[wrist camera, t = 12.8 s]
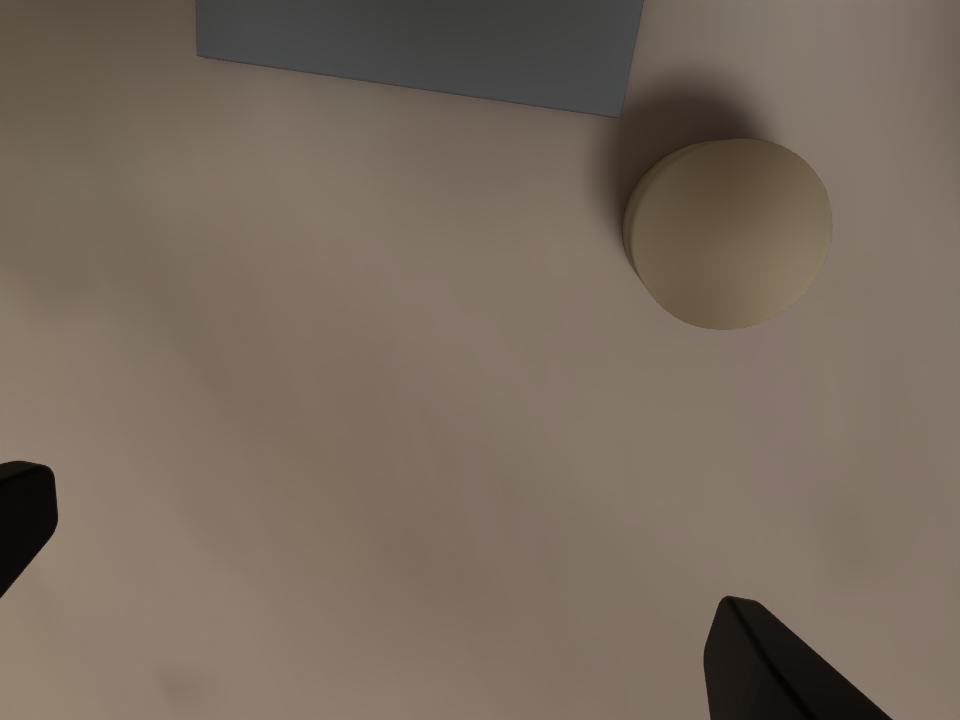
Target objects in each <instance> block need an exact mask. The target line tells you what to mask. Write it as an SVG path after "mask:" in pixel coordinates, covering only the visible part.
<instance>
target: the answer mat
mask: <svg viewBox="0 0 960 720" xmlns="http://www.w3.org/2000/svg"><path fill="white" fill-rule="evenodd" d="M643 3H644V0H196V22H197V56H201V57H205V58H211V59H218V60H225V61H232V62H239V63H245V64H252V65H259V66H266V67H273V68H280V69H286V70H293V71H300V72H307V73H314V74H320V75H327V76H334V77H341V78H348V79H354V80H361V81H368V82H375V83H382V84H389V85H395V86H402V87H409V88H416V89H423V90H429V91H436V92H443V93H450V94H457V95H463V96H470V97H477V98H484V99H491V100H498V101H504V102H511V103H518V104H525V105H532V106H538V107H545V108H552V109H559V110H566V111H572V112H579V113H586V114H593V115H600V116H606V117H613V118H620V116H621V111H622V106H623V101H624V97H625V92H626V87H627V82H628V77H629V72H630V67H631V62H632V57H633V52H634V47H635V42H636V37H637V32H638V27H639V22H640V17H641V12H642V8H643Z"/></svg>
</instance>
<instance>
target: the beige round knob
mask: <svg viewBox="0 0 960 720" xmlns="http://www.w3.org/2000/svg"><path fill="white" fill-rule="evenodd" d="M831 235H832V212H831V206H830V201H829V198H828V195H827V192H826V190H825V188H824V186H823V184H822V182H821V180H820V178H819V177H818V175H817V174H816V172H815V171H814V170H813V169H812V168H811V166H810V165H809V164H808V163H807V162H806V161H805V160H803V159H802V158H801V157H800V156H798V155H797V154H796V153H794V152H792V151H791V150H789V149H787V148H785V147H783V146H781V145H778V144H775V143H773V142H769V141H764V140H760V139H749V138H740V139H727V140H716V141H706V142H700V143H694V144H690V145H687V146H684V147H681V148H679V149H677V150H675V151H673V152H670V153H669V154H667V155H666V156H664V157H663V158H661V159H660V160H658V161H657V162H656V163H655V164H654V165H652V166H651V167H650V168H649V169H648V170H647V171H646V172H645V174H644V175H643V176H642V177H641V179H640V180H639V181H638V183H637V184H636V186H635V188H634V189H633V191H632V193H631V195H630V198H629V200H628V202H627V205H626V209H625V213H624V219H623V243H624V248H625V252H626V255H627V258H628V260H629V262H630V265H631V266H632V268H633V270H634V271H635V273H636V274H637V276H638V277H639V279H640V280H641V281H642V283H643V284H644V286H645V287H646V289H647V290H648V291H649V293H650V294H651V295H652V297H653V298H654V299H655V300H656V302H657V303H658V304H660V305H661V306H662V307H663V308H664V309H665V310H666V311H667V312H669V313H670V314H672V315H673V316H675V317H676V318H678V319H680V320H682V321H684V322H686V323H689V324H692V325H695V326H698V327H703V328H707V329H717V330H729V329H738V328H745V327H748V326H752V325H756V324H758V323H761V322H763V321H766V320H768V319H770V318H772V317H774V316H776V315H778V314H780V313H781V312H783V311H784V310H785V309H787V308H788V307H790V306H791V305H792V304H793V303H794V302H796V301H797V300H798V299H799V298H800V297H801V296H802V295H803V294H804V293H805V292H806V290H807V289H808V288H809V287H810V286H811V284H812V283H813V281H814V280H815V279H816V277H817V275H818V274H819V272H820V270H821V268H822V266H823V264H824V261H825V259H826V256H827V254H828V250H829V246H830V242H831Z"/></svg>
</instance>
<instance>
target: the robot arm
mask: <svg viewBox="0 0 960 720" xmlns="http://www.w3.org/2000/svg"><path fill="white" fill-rule="evenodd" d="M57 523H58V509H57V498H56V487H55V477H54V473H53V472H52V470H51V468H49V467H48V466H46V465H42V464H37V463H31V462H26V461H12V462H7V463H3V464H0V598H1V597H2V596H3V595H4V593H5V592H6V591H7V590H8V589H9V587H10V586H11V585H12V584H13V583H14V581H15V580H16V579H17V578H18V577H19V575H20V574H21V573H22V572H23V571H24V569H25V568H26V567H27V566H28V565H29V563H30V562H31V561H32V560H33V558H34V557H35V556H36V555H37V554H38V552H39V551H40V550H41V549H42V548H43V546H44V545H45V544H46V543H47V542H48V540H49V539H50V538H51V536H52V535H53V533H54V531H55V529H56V526H57ZM703 659H704V672H705V680H706V688H707V696H708V703H709V711H710V719H711V720H893V719H891V718H890V717H889V716H888V715H887V714H886V713H885V712H883V711H882V710H881V709H880V708H879V707H878V706H877V705H875V704H874V703H873V702H872V701H871V700H870V699H869V698H867V697H866V696H865V695H864V694H863V693H862V692H861V691H860V690H858V689H857V688H856V687H855V686H854V685H853V684H852V683H850V682H849V681H848V680H847V679H846V678H845V677H844V676H842V675H841V674H840V673H839V672H838V671H837V670H836V669H834V668H833V667H832V666H831V665H830V664H829V663H828V662H826V661H825V660H824V659H823V658H822V657H821V656H820V655H819V654H817V653H816V652H815V651H814V650H813V649H812V648H811V647H809V646H808V645H807V644H806V643H805V642H804V641H803V640H801V639H800V638H799V637H798V636H797V635H796V634H795V633H793V632H792V631H791V630H790V629H789V628H788V627H787V626H786V625H784V624H783V623H782V622H781V621H780V620H779V619H778V618H776V617H775V616H774V615H773V614H772V613H771V612H770V611H768V610H767V609H766V608H765V607H764V606H763V605H762V604H760V603H759V602H757V601H755V600H750V599H744V598H739V597H734V596H726V597H724V598H722V600H721V601H720V603H719V605H718V608H717V611H716V614H715V617H714V620H713V623H712V626H711V629H710V632H709V635H708V638H707V641H706V644H705V649H704V658H703Z"/></svg>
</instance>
